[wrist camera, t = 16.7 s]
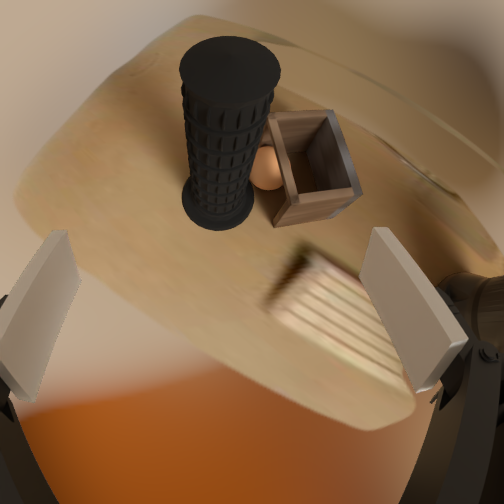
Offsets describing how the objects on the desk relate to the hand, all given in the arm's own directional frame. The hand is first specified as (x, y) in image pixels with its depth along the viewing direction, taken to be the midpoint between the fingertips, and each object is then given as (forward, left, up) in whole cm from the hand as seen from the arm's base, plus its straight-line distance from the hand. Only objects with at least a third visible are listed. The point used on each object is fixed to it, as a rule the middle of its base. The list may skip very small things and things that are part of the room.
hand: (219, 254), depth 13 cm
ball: (+15, -10, -26) cm, 31 cm away
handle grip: (+13, -3, -29) cm, 32 cm away
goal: (+13, -14, -29) cm, 35 cm away
